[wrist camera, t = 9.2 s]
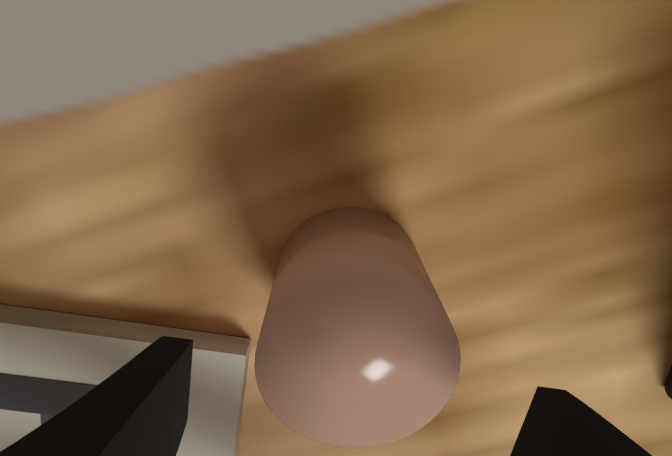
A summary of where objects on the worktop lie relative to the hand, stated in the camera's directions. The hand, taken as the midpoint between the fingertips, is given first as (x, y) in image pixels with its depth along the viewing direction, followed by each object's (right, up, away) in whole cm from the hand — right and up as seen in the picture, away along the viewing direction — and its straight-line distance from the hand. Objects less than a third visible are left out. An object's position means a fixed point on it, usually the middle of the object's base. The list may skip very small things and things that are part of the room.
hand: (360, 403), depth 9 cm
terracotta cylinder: (0, +2, +6) cm, 6 cm away
